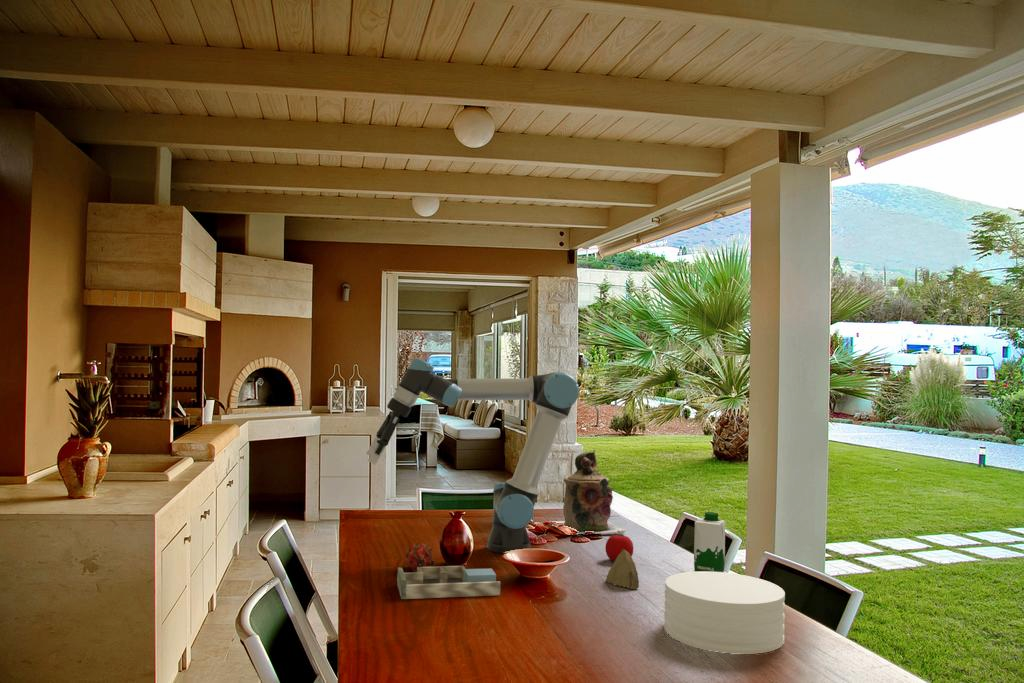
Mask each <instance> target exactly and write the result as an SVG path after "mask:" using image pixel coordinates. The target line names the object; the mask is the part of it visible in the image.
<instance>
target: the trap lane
mask: <svg viewBox="0 0 1024 683" xmlns="http://www.w3.org/2000/svg"><path fill="white" fill-rule="evenodd" d="M464 569H467V568H466V567H465V566H464V565H444V566H443V565H441V566H439V565H438V566H430V567H417V572H414V571H412V572H404V569H403V567H397V575H396V576H397V579H396V580H397V581H396V582H397V584H396V586H397V589H398V592H399V596H400V598H401V600H409V599H410V600H412V599H415V600H417V599H418V600H419V599H435V598H436V599H438V598H440V599H442V598H459V597H460V598H462V597H464V598H465V597H466V598H467V597H484V596H485V597H486V596H487V597H488V596H491V597H492V596H500V595H501V581H500V580H496V581H491V582H464ZM461 579H462V580H461Z"/></svg>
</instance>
